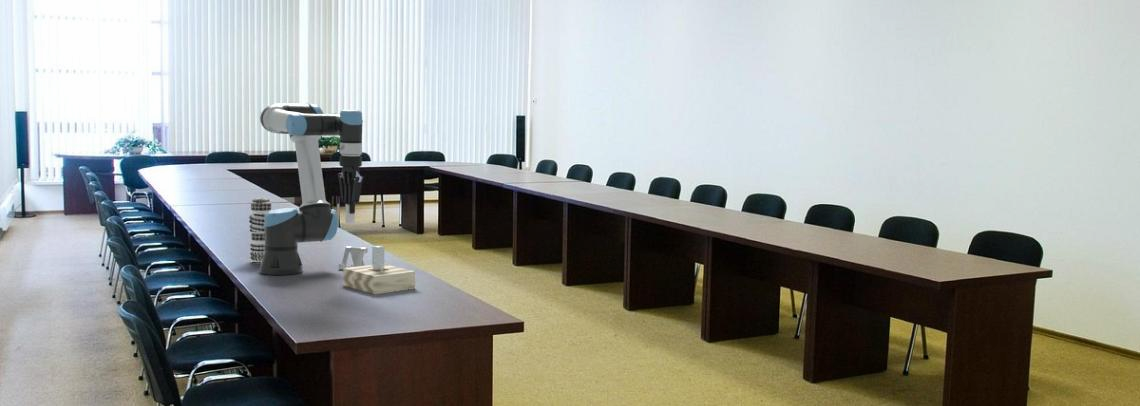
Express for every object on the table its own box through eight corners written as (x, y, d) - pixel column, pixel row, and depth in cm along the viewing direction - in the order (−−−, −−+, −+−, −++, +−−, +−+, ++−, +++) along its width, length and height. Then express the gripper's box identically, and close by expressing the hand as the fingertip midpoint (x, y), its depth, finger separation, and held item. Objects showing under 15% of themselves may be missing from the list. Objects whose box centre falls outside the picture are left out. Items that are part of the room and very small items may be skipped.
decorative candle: (279, 261, 376) (278, 198, 374) (260, 264, 368) (259, 200, 366) (263, 258, 381) (262, 196, 379) (244, 261, 373) (243, 198, 371)
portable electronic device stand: (338, 270, 359) (338, 248, 359) (350, 267, 367) (350, 245, 366) (357, 271, 356) (357, 249, 355) (369, 268, 364) (369, 247, 363)
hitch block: (343, 285, 329) (343, 268, 328) (382, 280, 340) (382, 263, 340) (374, 294, 315) (374, 276, 314) (414, 288, 326) (415, 271, 325)
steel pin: (370, 286, 328) (370, 246, 326) (380, 285, 330) (380, 245, 329) (376, 288, 325) (376, 247, 323) (386, 287, 328) (386, 246, 326)
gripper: (331, 153, 330) (330, 220, 333) (351, 157, 320) (350, 226, 324) (349, 153, 335) (349, 219, 338) (370, 156, 326) (369, 224, 329)
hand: (349, 222), depth 331 cm, fingers closed
